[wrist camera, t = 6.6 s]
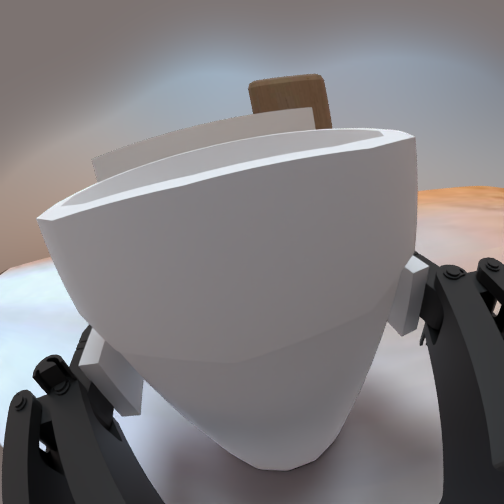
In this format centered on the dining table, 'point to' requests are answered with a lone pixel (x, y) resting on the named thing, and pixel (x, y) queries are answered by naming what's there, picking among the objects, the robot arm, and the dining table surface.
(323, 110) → the wooden block
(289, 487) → the dining table surface
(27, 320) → the dining table surface
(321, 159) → the foam cup
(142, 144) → the gauge slider
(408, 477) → the dining table surface
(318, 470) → the dining table surface
